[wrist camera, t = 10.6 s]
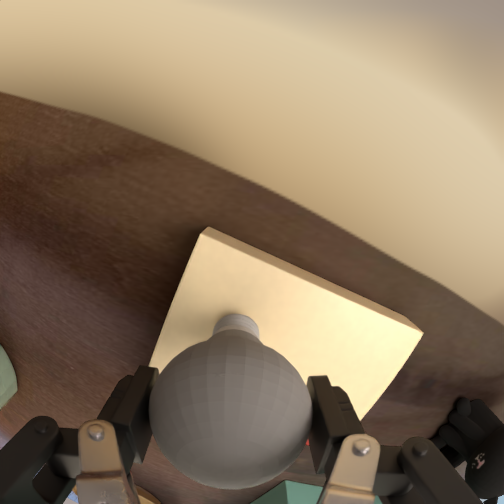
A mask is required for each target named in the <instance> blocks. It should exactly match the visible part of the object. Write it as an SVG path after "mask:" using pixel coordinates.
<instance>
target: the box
mask: <svg viewBox="0 0 504 504" xmlns="http://www.w3.org/2000/svg"><path fill="white" fill-rule="evenodd" d="M322 489H323V487H320V486H313V485H308V484H302V483H297V482H292V481H288V480H285V481H283V482H282V483H280V484H279V485H277V486H276V487H275V488H273V489H272V490H270V491H269V492H267V493H266V494H264V495H263V496H261V497H259V498H258V499H256V500H255V501H253V502H252V503H250V504H316V503H317V501H318V498H319V496H320V493H321V491H322ZM374 504H382V502H381V500H380V499H379V497H378V496H375V501H374Z"/></svg>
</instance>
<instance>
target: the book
mask: <svg viewBox="0 0 504 504" xmlns="http://www.w3.org/2000/svg"><path fill="white" fill-rule="evenodd" d="M230 314H242V315H246V316H248V317H250V318H251V319H252V320H253V321H254V322H255V323H256V324H257V326H258V329H259V337H260V341H261V342H262V343H263V345H265V346H267V347H270V348H272V349H274V350H275V351H277V352H278V353H280V354H281V355H283V356H284V357H285V358H286V359H287V360H288V361H289V362H290V363H291V364H292V365H293V366H294V367H295V369H296V370H297V371H298V372H299V374H300V376H301V377H302V379H303V381H304V382H305V384H307V379H308V377H309V376H318V375H327V376H328V378H329V381H330V383H331V386H339V387H341V388H342V389H343V390H344V391H345V392H346V393H347V394H348V396H349V399H350V401H351V403H352V405H353V407H354V410H355V412H356V414H357V416H358V418H359V421H360V420H361V419H362V418H363V417H364V416H365V414H366V413H367V412H368V411H369V410H370V408H371V407H372V406H373V405H374V403H375V402H376V401H377V400H378V398H379V397H380V396H381V395H382V393H383V392H384V391H385V389H386V388H387V387H388V385H389V384H390V383H391V381H392V380H393V379H394V377H395V376H396V374H397V373H398V372H399V370H400V369H401V367H402V366H403V364H404V363H405V362H406V360H407V359H408V357H409V356H410V354H411V353H412V351H413V349H414V348H415V346H416V345H417V343H418V342H419V340H420V338H421V337H422V335H423V332H422V331H421V330H420V329H419V328H418V327H416V326H415V325H414V324H413V323H412V322H411V321H410V320H409V319H407V318H406V317H405V316H403V315H401V314H399V313H397V312H394V311H392V310H390V309H388V308H386V307H384V306H382V305H379V304H377V303H375V302H373V301H371V300H369V299H366V298H364V297H362V296H360V295H358V294H356V293H353V292H351V291H349V290H347V289H345V288H342V287H340V286H338V285H336V284H334V283H332V282H329V281H327V280H325V279H323V278H321V277H319V276H316V275H314V274H312V273H310V272H308V271H305V270H303V269H301V268H299V267H297V266H294V265H292V264H290V263H288V262H286V261H284V260H281V259H279V258H277V257H275V256H273V255H270V254H268V253H266V252H264V251H262V250H259V249H257V248H255V247H253V246H251V245H248V244H246V243H244V242H242V241H240V240H237V239H235V238H233V237H231V236H229V235H226V234H224V233H222V232H220V231H217V230H215V229H213V228H211V227H207V228H206V229H205V230H204V231H203V232H202V233H201V234H200V235H199V237H198V240H197V242H196V244H195V247H194V249H193V252H192V254H191V256H190V259H189V261H188V264H187V266H186V268H185V271H184V273H183V276H182V278H181V281H180V283H179V286H178V288H177V291H176V293H175V296H174V298H173V301H172V304H171V306H170V309H169V311H168V314H167V317H166V319H165V322H164V325H163V327H162V330H161V333H160V335H159V338H158V341H157V344H156V346H155V349H154V352H153V355H152V358H151V360H150V363H149V366H148V367H155V368H158V370H159V374H160V373H161V372H162V370H163V369H164V368H165V367H166V366H167V364H168V363H169V362H170V361H171V360H172V359H173V358H174V357H175V356H177V355H178V354H179V353H181V352H182V351H184V350H185V349H186V348H188V347H190V346H193V345H195V344H197V343H199V342H203V341H207V340H208V339H209V338H210V337H212V333H213V329H214V326H215V325H216V323H217V322H218V321H219V320H220V319H221V318H222V317H224V316H226V315H230ZM305 445H308V446H310V445H309V440H307V442H306V444H305Z"/></svg>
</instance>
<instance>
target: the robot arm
mask: <svg viewBox="0 0 504 504" xmlns="http://www.w3.org/2000/svg"><path fill="white" fill-rule="evenodd" d="M158 376H159V370H158V368H155V367H148V366H141V365H140V366H139V367H138V369H137V371H136V373H135V374H134V376H132V375H127V376H125V377H124V378H123V379H121V380H120V381H119V382H118V384H117V385H116V387H115V389H114V390H113V392H112V393H111V397H109V399H108V400H107V402H106V404H105V405H104V407H103V409H102V410H101V412H100V414H99V415H98V417H97V419H93V420H89V421H86V422H84V423H83V424H82V425H81V426H80V427H79V429H72V428H59V427H58V424H57V422H56V421H55V420H54V419H52V418H51V417H48V416H38V417H35V418H33V419H31V420H30V421H29V422H28V423H27V424H26V425H25V426H24V427H23V428H22V429H21V430H20V431H19V432H18V433H17V434H16V435H15V436H14V437H13V438H12V439H11V440H10V441H9V442H8V443H7V444H6V445H5V446H4V447H3V448H2V449H1V450H0V504H63V502H64V501H65V500H66V498H67V497H68V495H69V494H70V492H71V491H72V489H73V488H74V486H75V485H76V487H77V495H78V502H79V504H141V503H140V499H139V496H138V493H137V490H136V486H135V483H134V480H133V476H132V472H131V470H130V469H131V467H132V464H133V462H134V463H139V464H142V463H143V460H144V457H145V454H146V451H147V448H148V445H149V442H150V439H151V436H152V434H153V433H152V430H151V426H150V420H149V411H148V409H149V400H150V393H151V391H152V389H153V386H154V384H155V382H156V380H157V378H158ZM306 386H307V388H308V391H309V395H310V398H311V402H312V406H313V419H312V427H311V431H310V434H309V437H308V440H309V445H310V449H311V454H312V458H313V462H314V467H315V471H316V474H322V473H325V475H326V481H325V484H324V486H323V489H322V491H321V493H320V496H319V498H318V501H317V503H316V504H374V501H375V496H378V497H379V499H380V500H381V502H382V504H483V503H482V501H481V500H480V499H479V498H478V496H477V495H476V494H475V493H474V492H473V490H472V489H471V488H470V487H469V485H468V484H467V483H466V482H465V481H464V479H463V478H462V477H461V476H460V475H459V473H458V472H457V471H456V470H455V469H454V467H453V466H452V465H451V464H450V463H449V461H448V460H447V459H446V458H445V457H444V455H443V454H442V453H441V452H440V451H439V449H438V448H437V447H436V446H435V445H434V443H433V442H431V441H430V440H428V439H426V438H423V437H413V438H410V439H408V440H406V441H405V442H404V444H403V446H402V447H400V446H383V445H379V443H378V441H377V440H376V439H375V438H373V437H371V436H369V435H366V434H365V432H364V430H363V427H362V425H361V423H360V421H359V418H358V416H357V414H356V412H355V410H354V407H353V405H352V403H351V401H350V399H349V396H348V394H347V393H346V392H345V391H344V390H343V389H342V388H341V387H339V386H331V383H330V381H329V378H328V376H327V375H318V376H309V377H308V379H307V384H306ZM45 463H46V464H45ZM44 464H45V465H44ZM43 465H44V466H43ZM42 466H43V467H42ZM41 468H42V469H41ZM40 469H41V470H40ZM39 470H40V471H39ZM38 471H39V472H38ZM37 473H38V474H37ZM36 474H37V475H36ZM35 475H36V476H35ZM34 476H35V477H34Z"/></svg>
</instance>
